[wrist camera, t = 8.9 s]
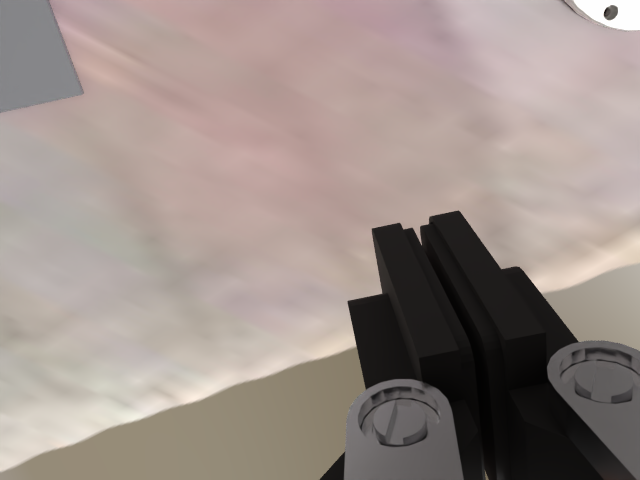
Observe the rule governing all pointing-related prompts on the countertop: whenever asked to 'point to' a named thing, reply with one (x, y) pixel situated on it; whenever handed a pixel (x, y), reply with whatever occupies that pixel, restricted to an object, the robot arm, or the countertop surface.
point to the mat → (33, 56)
